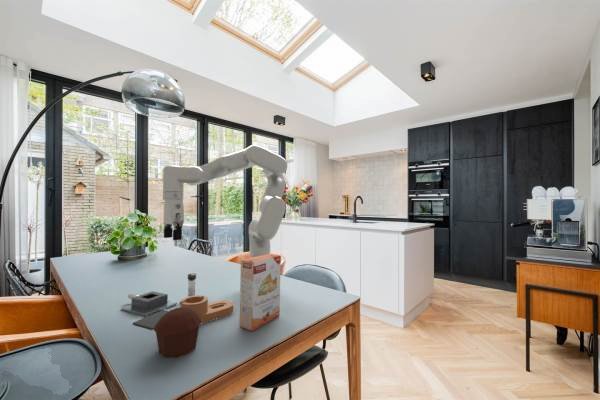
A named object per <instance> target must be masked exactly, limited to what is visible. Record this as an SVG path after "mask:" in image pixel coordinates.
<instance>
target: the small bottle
mask: <svg viewBox="0 0 600 400" xmlns="http://www.w3.org/2000/svg"><path fill="white" fill-rule="evenodd" d="M196 279H197V273H188V274H187V280H188V281H187V282H188V283H187V297H189V296H196Z"/></svg>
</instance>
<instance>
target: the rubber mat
mask: <svg viewBox="0 0 600 400" xmlns="http://www.w3.org/2000/svg"><path fill="white" fill-rule="evenodd" d="M169 311H170V310H169ZM169 311H168V310H162V311H160V312H157V313H155V314H152V315H150V316H148V317H146V316H144V317H142V318H141V319H138V320H135V321H134V322H132V325H136V326H139V327H142V328H145V327H146V328H145V329H149V330H154V327H155V325H156V324H157V322H158V321H159V319H160V318H161V317H162V316H163V315H165V314H166V313H167V312H169Z"/></svg>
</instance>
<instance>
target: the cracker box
mask: <svg viewBox="0 0 600 400" xmlns="http://www.w3.org/2000/svg"><path fill="white" fill-rule="evenodd" d="M281 261H282V256H281V255H279V254H276V253H274V254H273V253H270V254H265V255H261V256H257V257H252V258H249V257H248V258H244V259H241V260H240V282H239V283H240V284H239V285H240V286H239V320H238V323H239V324H238V325H239V326H238V327H240V328H242V329H245V330H247V331H250V332H254V331H255V330H257V329H259V328H260V327H262V326H264V325H265V324H267V323H269V322H270V321H273V320H274V319H276V318H278V317H280V307H281V306H280V303H281V269H282V268H281V264H282V263H281Z"/></svg>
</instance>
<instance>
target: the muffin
mask: <svg viewBox="0 0 600 400" xmlns="http://www.w3.org/2000/svg"><path fill="white" fill-rule="evenodd" d="M200 325H202V324H201V318H200V316H199V315H198V314H197V313H196V312H195V311H193V310H192V309H189V308H185V307H181V308H180V307H175V308H173V309H171V310H169V312H167V313H166V314H165V315H163V316H162V317H161V318H160V319H159V321H158V322H157V324H156V325H155V327H154V329H153V330H154V332H155V335H156V336H155V337H156V342H157V348H158V354H159V355H160V356H162V357H163V358H166V359H168V358H169V359H170V358H172V359H173V358H175V359H177V358H180V357H183V356H187V355H189V354H190V353H191V352H193V351H194V350H195V349H196V347H197V341H198V336H199V329H200Z"/></svg>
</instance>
